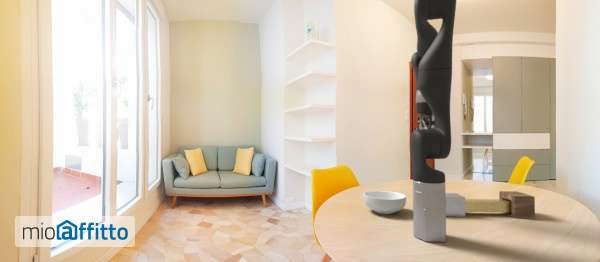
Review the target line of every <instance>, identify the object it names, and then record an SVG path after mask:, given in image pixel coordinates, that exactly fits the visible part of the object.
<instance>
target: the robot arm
mask: <svg viewBox="0 0 600 262" xmlns="http://www.w3.org/2000/svg"><path fill="white" fill-rule="evenodd" d="M456 8H457V0H414V6H413V12H414V22H415V30H416V36H417V37H416V38H417V39H416V41H417V43H416V52H414V53H413V54H412V55H411V58H410V62H411V66H412V69H413V73H414V76H415V85H416V87H415V88H416V91H415V92H416V93H415V113H416V115H420V117H417V129H415V130H413V131H412V132H411V135H410V143H409V144H410V157H411V172H412V209H413V210H412V213H413V214H412V216H413V217H412V219H413V221H412V222H413V226H412V227H413V228H412V229H413V230H412V231H413V236H414V237H415V238H417V239H418V240H419V239H420V240H423V242H431V243H432V242H433V243H434V242H435V243H437V242H438V243H446V242H447V216H446V194H445V193H447V192H446V173H445V172H443V171H442V170H439V169H435V168H433V167H431V166H429V165H428V163H427V160H443V159H447V158H448V157H449V155H450V154H451V151H452V150H451V149H452V129H451V128H452V127H451V93H452V92H451V91H452V82H453V81H452V80H453V78H452V77H453V38H454V27H455V20H456V19H455V18H456V10H457V9H456ZM441 19H442V22H441V26H440V28H439V30H438V31H437V29H436V28H435V27H434V26H433V25H432V24H431V23H430V22H429V21H433V20H441Z"/></svg>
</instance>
